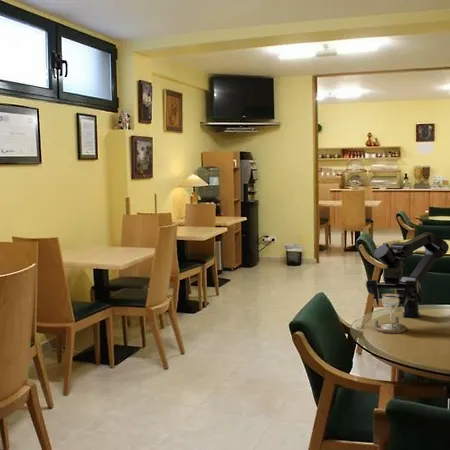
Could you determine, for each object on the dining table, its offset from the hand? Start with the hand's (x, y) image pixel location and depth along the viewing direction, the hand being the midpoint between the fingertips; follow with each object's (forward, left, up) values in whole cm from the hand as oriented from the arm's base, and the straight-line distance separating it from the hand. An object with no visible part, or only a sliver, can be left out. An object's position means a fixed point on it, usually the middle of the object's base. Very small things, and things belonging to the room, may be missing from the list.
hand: (390, 305), depth 211 cm
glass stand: (0, 0, -9) cm, 9 cm away
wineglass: (0, 0, -8) cm, 8 cm away
